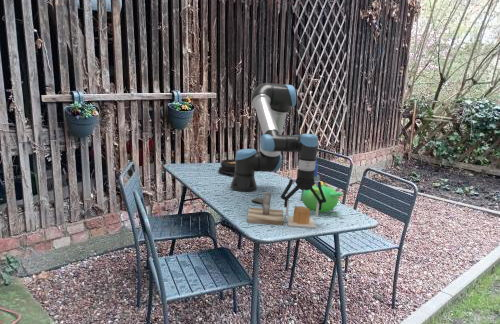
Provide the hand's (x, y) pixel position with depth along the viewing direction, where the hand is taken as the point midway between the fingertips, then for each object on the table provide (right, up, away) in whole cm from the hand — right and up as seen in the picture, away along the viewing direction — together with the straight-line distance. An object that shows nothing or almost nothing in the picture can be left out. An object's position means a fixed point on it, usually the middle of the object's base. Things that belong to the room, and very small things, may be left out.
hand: (301, 215), depth 172 cm
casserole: (-36, +16, +92) cm, 100 cm away
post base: (-16, -2, +4) cm, 17 cm away
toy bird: (+11, -1, +20) cm, 23 cm away
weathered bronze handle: (-17, +1, +22) cm, 28 cm away
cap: (0, -3, 0) cm, 3 cm away
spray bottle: (+9, +3, +38) cm, 39 cm away
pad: (0, -4, +1) cm, 4 cm away
